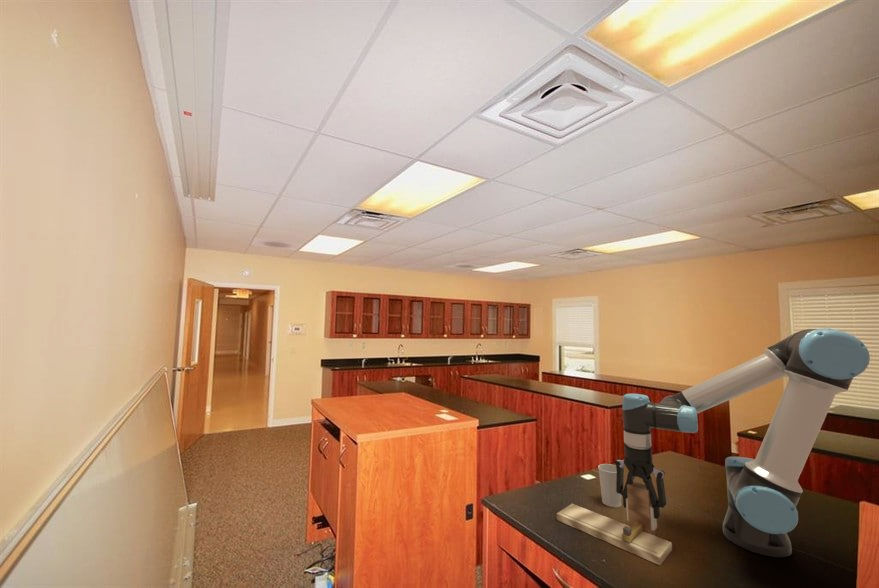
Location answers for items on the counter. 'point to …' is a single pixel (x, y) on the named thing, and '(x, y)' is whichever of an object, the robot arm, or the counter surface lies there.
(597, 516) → the board
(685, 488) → the counter surface
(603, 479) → the cup
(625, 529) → the gauge
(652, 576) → the counter surface
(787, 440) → the robot arm
